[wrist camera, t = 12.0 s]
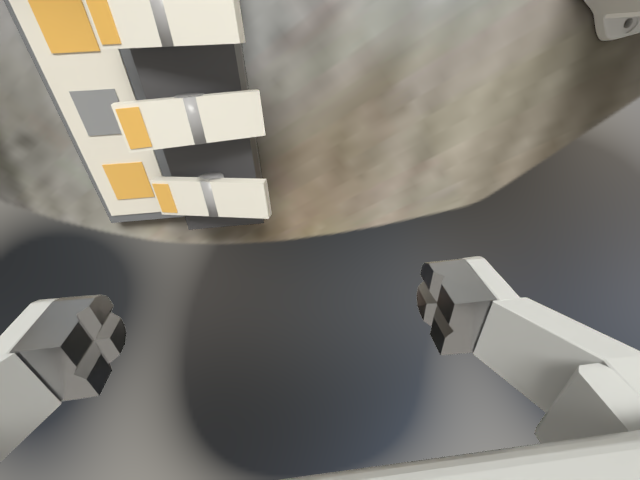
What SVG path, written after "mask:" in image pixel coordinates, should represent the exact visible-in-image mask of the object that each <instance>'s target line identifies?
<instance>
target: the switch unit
mask: <svg viewBox="0 0 640 480" xmlns="http://www.w3.org/2000/svg"><path fill="white" fill-rule="evenodd" d="M4 2H5V4H6V6H7V8H8V10H9V12H10V14H11V17H12V19H13V21H14V23H15V25H16V27H17V29H18V31H19V33H20V35H21V37H22V39H23V41H24V43H25V45H26V47H27V50H28V52H29V54H30V56H31V58H32V60H33V62H34V64H35V66H36V68H37V70H38V72H39V74H40V76H41V78H42V81H43V83H44V85H45V87H46V89H47V91H48V93H49V95H50V97H51V99H52V101H53V103H54V105H55V107H56V109H57V111H58V114H59V116H60V118H61V120H62V122H63V124H64V126H65V128H66V130H67V132H68V134H69V136H70V138H71V140H72V142H73V144H74V147H75V149H76V151H77V153H78V155H79V157H80V159H81V161H82V163H83V165H84V167H85V169H86V171H87V173H88V175H89V178H90V180H91V182H92V184H93V186H94V188H95V190H96V192H97V194H98V196H99V198H100V200H101V202H102V204H103V206H104V208H105V211H106V213H107V215H108V217H109V219H110V221H111V223H116V222H128V221H140V220H151V219H163V218H175V217H185V219H186V222H187V225H188V228H189V230H191V229H202V228H213V227H225V226H236V225H248V224H259V223H264V219H261V218H237V217H210V216H189V215H165V214H162V213H161V210H160V207H159V205H158V202H157V199H156V197H155V194H154V191H153V189H152V186H151V183H150V180H151V179H152V178H154V177H155V176H165V177H199V176H200V175H202V174H205V173H210V172H219V173H222V174H223V176H224V178H256V179H262V173H261V166H260V160H259V153H258V147H257V140H256V137H250V138H242V139H235V140H227V141H219V142H211V143H205V144H197V145H188V146H180V147H172V148H164V149H157V150H149V151H141V152H133V153H129V150H128V148H127V145H126V143H125V140H124V138H123V135H122V133H121V130H120V127H119V125H118V122H117V120H116V117H115V115H114V112H113V109H112V107H111V104H113V103H115V102H125V101H136V100H147V99H158V98H168V97H174V96H176V95H180V94H186V93H204V94H211V93H222V92H233V91H244V90H249V89H248V82H247V76H246V69H245V63H244V56H243V50H242V43H238V44H215V45H192V46H170V47H146V48H124V49H102V47H101V44H100V42H99V39H98V36H97V33H96V31H95V28H94V25H93V23H92V20H91V17H90V14H89V12H88V9H87V6H86V4H85V1H84V0H4Z"/></svg>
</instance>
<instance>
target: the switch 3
mask: <svg viewBox="0 0 640 480" xmlns="http://www.w3.org/2000/svg"><path fill="white" fill-rule="evenodd" d="M150 183H151V186H152V189H153V191H154V194H155V197H156V199H157V202H158V205H159V207H160V210H161V213H162V214H165V215H189V216H210V217H237V218H261V219H269V218H270V216H271V214H272V212H271V205H270V198H269V191H268V185H267V179H256V178H224V176H223V174H222V173H219V172H210V173H205V174H202V175H200V176H199V177H165V176H155V177H154V178H152V179H151V180H150Z"/></svg>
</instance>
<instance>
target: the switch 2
mask: <svg viewBox="0 0 640 480" xmlns="http://www.w3.org/2000/svg"><path fill="white" fill-rule="evenodd" d="M111 107H112V109H113V112H114V115H115V117H116V120H117V122H118V125H119V127H120V130H121V133H122V135H123V138H124V140H125V143H126V145H127V148H128V150H129V153H133V152H141V151H149V150H157V149H164V148H172V147H180V146H188V145H197V144H205V143H211V142H219V141H227V140H235V139H242V138H250V137H258V136H266V135H265V128H264V121H263V113H262V106H261V99H260V91H259V90H258V89H255V90H244V91H233V92H222V93H211V94H204V93H186V94H180V95H176V96H174V97H168V98H158V99H147V100H136V101H125V102H115V103H113V104H111Z"/></svg>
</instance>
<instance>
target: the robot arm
mask: <svg viewBox="0 0 640 480" xmlns="http://www.w3.org/2000/svg"><path fill="white" fill-rule="evenodd" d="M584 1H585V3H586V4H587V5H588V6H589V8H590V9H591V10H592V12H593V14H594V21H595V28H596V33H597V36H598V38H599V39H600V40H602V41H608V40H615V39H619V38H623V37H626V36H630V35H633V34H637V33H640V0H584ZM625 21H626V24H625V25H624V23H625ZM420 275H421V277H422V279H423V282H422V283H421V284H420V285H419V286H418V289H417V306H418V309H419V312H420V315H421V317H422V319H423V321H424V322H426V323H428V324H429V325H430V326H432V327H431V331H430V335H431V337H432V339H433V341H434V343H435V345H436V347H437V349H438V351H439V353H440V355H451V354H462V353H473V352H474V353H473V354H474V355H475V356H476V357H477V358H478V359H480V360H481V361H482V362H483V363H485V364H486V365H487V366H488V367H490V368H491V369H492V370H493V371H495V372H496V373H497V374H498V375H500V376H501V377H502V378H504V379H505V380H506V381H507V382H509V383H510V384H511V385H512V386H513V387H515V388H516V389H517V390H518V391H520V392H521V393H522V394H523V395H525V396H526V397H527V398H528V399H530V400H531V401H532V402H533V403H534V404H536V405H537V406H538V407H539V408H541V409H542V410H543V411H545V412H546V414H545V415H544V417H543V418H542V420H541V421H540V423H539V424H538V426H537V427H536V430H535V433H534V434H535V435H536V437H537V438H538V440H539V442H540V443H541V444H534V445H527V446H520V447H512V448H506V449H498V450H491V451H485V452H477V453H469V454H462V455H455V456H448V457H441V458H434V459H426V460H419V461H411V462H404V463H397V464H390V465H383V466H375V467H368V468H361V469H354V470H346V471H339V472H332V473H325V474H318V475H310V476H303V477H296V478H289V479H282V480H640V351H638V350H636V349H634V348H632V347H630V346H628V345H626V344H624V343H622V342H619V341H617V340H615V339H613V338H611V337H609V336H607V335H605V334H602V333H600V332H598V331H596V330H594V329H592V328H590V327H588V326H586V325H584V324H581V323H579V322H577V321H575V320H573V319H571V318H569V317H567V316H565V315H562V314H560V313H558V312H556V311H554V310H552V309H550V308H547V307H545V306H543V305H541V304H539V303H537V302H535V301H533V300H531V299H529V298H527V297H525V298H520V297H519V296H518V295H517V294H516V293H515V292H514V290H513V289H512V288H511V287H510V286H509V285H508V284H507V283H506V282H505V280H504V279H503V278H502V277H501V276H500V275H499V274H498V273H497V272H496V271H495V269H494V268H493V267H492V266H491V265H490V264H489V263H488V262H487V261H486V259H484V258H483V257H480V256H476V257H468V258H461V259H454V260H446V261H435V262H426V263H424V264H423V265H422V267H421V272H420ZM112 308H113V304H112V302H111V301H110V299H109V298H108V296H104V295H90V296H77V297H64V298H56V299H43V300H38V301H35V302H33V303H31V304H30V305H29V306H28V307H27V308H26V309H25V310H24V311H23V312H22V313H21V314H20V315H19V316H18V317H17V319H16V320H15V321H14V322H13V323H12V324H11V325H10V326H9V327H8V328H7V329H6V330H5V331H4V333H3V334H2V335H1V336H0V462H1V461H2V460H3V459H4V458H5V457H6V456H7V455H8V454H9V453H10V452H11V451H13V449H14V448H16V447H17V446H18V445H19V444H20V443H21V442H22V441H23V440H24V439H25V438H26V437H27V436H28V435H29V434H30V433H31V432H32V431H33V430H34V429H35V428H37V427H38V426H39V425H40V424H41V423H42V422H43V421H44V420H45V419H46V418H47V417H48V416H49V415H50V414H51V413H52V412H53V411H54V410H55V409H56V408H57V407H58V406H59V405H60V404H61V401H66V400H74V399H80V398H87V397H95V396H99V395H100V394H101V392H102V390H103V388H104V386H105V384H106V382H107V380H108V378H109V376H110V374H111V372H112V368H111V365H110V363H111V362H112V361H113V360H114V359H115V358H116V357H118V356H119V355H120V353H121V352H122V349H123V347H124V345H125V340H126V329H125V324H124V323H123V321H122V319H121V318H120V317H118V316H117V315H115V314H113V313H111V311H112Z"/></svg>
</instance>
